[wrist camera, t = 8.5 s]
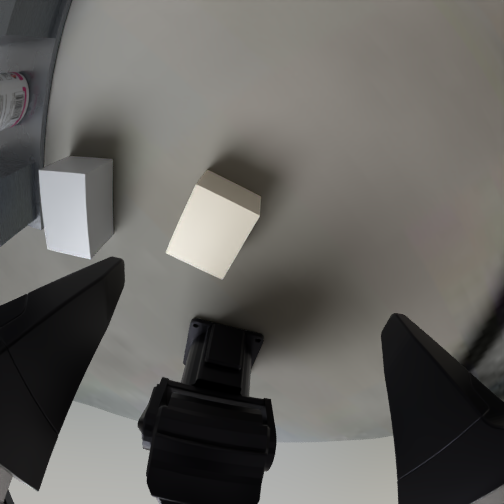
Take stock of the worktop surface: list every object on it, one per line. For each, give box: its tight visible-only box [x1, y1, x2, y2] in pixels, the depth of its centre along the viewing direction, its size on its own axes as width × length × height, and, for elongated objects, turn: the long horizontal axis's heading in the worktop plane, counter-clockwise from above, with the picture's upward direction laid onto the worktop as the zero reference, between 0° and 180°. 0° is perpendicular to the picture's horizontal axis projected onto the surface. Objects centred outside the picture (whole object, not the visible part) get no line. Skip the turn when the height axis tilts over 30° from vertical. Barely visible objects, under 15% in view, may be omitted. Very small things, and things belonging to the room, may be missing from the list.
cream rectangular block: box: [166, 170, 261, 280], centre depth 19 cm, size 5×4×4 cm
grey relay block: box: [39, 156, 114, 259], centre depth 19 cm, size 6×4×4 cm, turn 170°
